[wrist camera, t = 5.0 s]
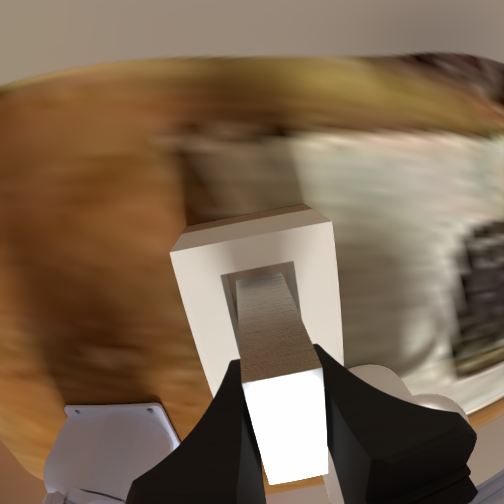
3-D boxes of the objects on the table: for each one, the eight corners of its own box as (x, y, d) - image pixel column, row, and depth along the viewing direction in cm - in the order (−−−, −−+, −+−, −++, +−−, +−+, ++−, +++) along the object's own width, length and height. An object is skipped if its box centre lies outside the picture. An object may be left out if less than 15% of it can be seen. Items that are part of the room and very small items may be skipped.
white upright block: (255, 370, 16) (270, 484, 9) (236, 280, 14) (241, 383, 7) (294, 363, 16) (327, 472, 9) (281, 272, 14) (322, 367, 7)
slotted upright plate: (246, 440, 24) (249, 491, 19) (186, 226, 19) (169, 252, 13) (327, 424, 24) (343, 472, 19) (304, 203, 19) (332, 221, 13)
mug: (442, 339, 22) (515, 414, 13) (424, 409, 25) (473, 483, 15) (304, 371, 22) (341, 485, 12) (305, 441, 24) (329, 537, 15)
